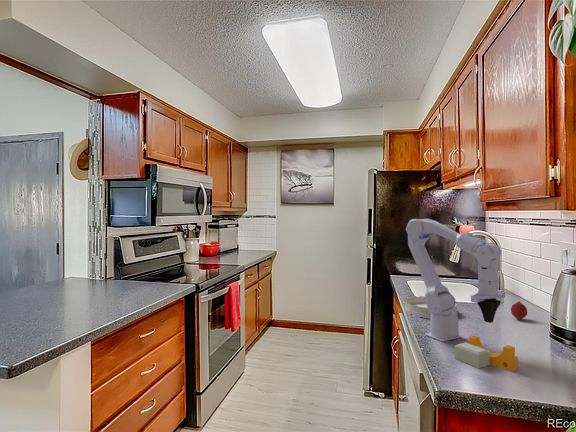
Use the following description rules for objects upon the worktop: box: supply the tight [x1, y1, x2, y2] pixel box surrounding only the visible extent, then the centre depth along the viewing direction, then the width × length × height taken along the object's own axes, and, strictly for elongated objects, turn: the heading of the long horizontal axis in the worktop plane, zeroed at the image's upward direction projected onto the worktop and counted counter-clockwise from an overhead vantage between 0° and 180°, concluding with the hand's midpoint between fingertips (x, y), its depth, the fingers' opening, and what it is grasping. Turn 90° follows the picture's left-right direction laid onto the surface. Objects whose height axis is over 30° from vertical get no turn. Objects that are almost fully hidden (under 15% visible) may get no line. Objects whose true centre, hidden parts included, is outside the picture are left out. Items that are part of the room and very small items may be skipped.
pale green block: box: [454, 342, 491, 369], centre depth 105 cm, size 5×8×4 cm, turn 26°
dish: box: [404, 296, 458, 320], centre depth 157 cm, size 22×22×5 cm
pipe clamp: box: [468, 335, 519, 372], centre depth 105 cm, size 12×4×6 cm, turn 33°
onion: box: [510, 299, 528, 321], centre depth 145 cm, size 6×6×8 cm
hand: (488, 321), depth 113 cm, fingers closed
